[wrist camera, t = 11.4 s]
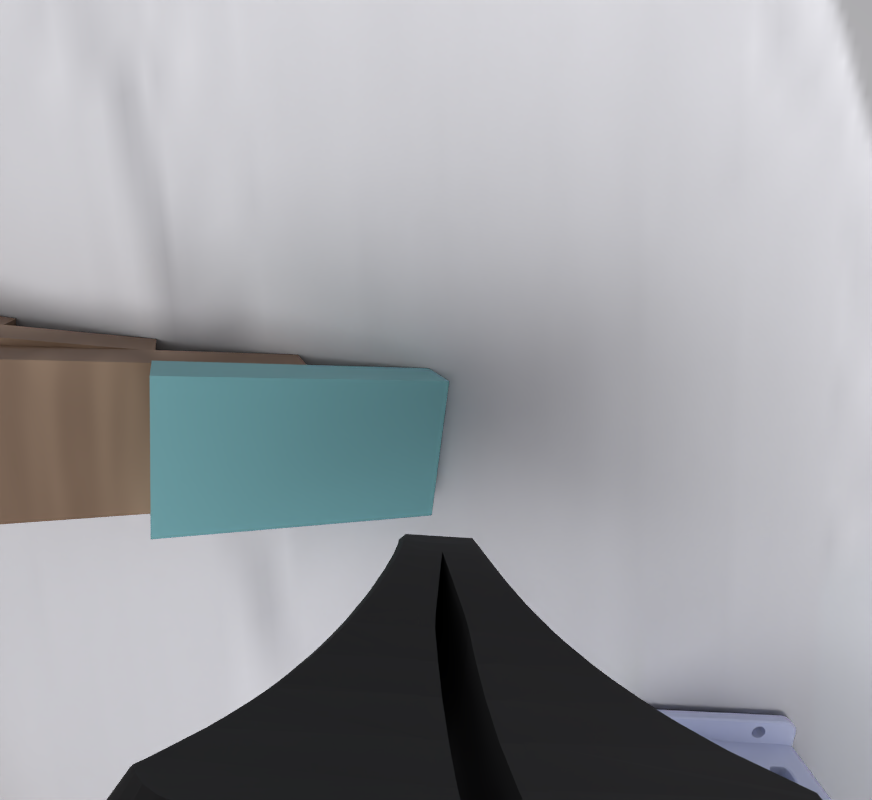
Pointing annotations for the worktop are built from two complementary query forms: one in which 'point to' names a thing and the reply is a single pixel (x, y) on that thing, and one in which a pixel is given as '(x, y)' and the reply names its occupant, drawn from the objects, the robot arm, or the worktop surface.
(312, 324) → the worktop surface
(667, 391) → the worktop surface
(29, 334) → the domino
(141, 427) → the domino
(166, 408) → the teal domino
